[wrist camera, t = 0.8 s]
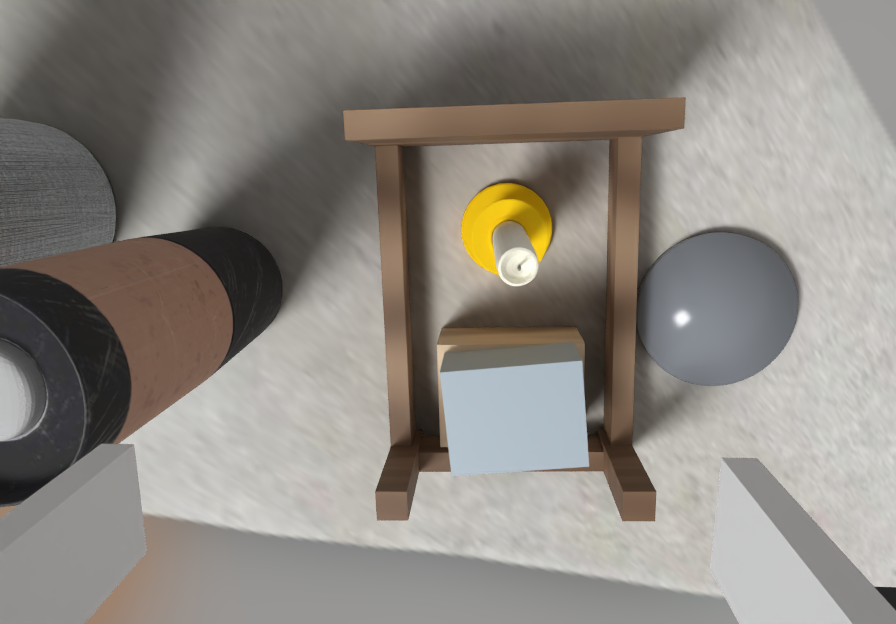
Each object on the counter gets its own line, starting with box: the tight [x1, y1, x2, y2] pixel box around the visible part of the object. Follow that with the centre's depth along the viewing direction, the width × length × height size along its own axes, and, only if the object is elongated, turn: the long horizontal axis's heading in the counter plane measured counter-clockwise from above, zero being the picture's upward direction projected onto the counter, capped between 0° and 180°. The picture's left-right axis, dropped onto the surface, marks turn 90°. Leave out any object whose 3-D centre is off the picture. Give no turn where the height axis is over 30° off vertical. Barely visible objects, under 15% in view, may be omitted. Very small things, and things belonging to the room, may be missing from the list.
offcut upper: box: [440, 342, 589, 476], centre depth 34 cm, size 6×7×4 cm
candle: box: [461, 183, 552, 286], centre depth 30 cm, size 5×5×16 cm
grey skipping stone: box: [636, 232, 798, 386], centre depth 38 cm, size 9×9×1 cm
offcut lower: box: [437, 326, 585, 447], centre depth 38 cm, size 6×8×4 cm
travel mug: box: [0, 228, 282, 507], centre depth 30 cm, size 8×8×20 cm
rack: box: [343, 97, 686, 521], centre depth 34 cm, size 20×14×10 cm
